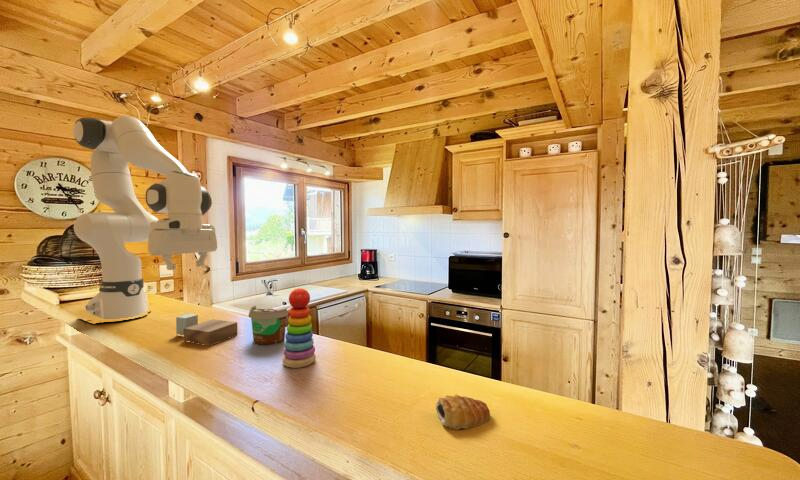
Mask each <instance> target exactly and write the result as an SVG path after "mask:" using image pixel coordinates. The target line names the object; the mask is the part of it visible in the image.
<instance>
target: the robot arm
mask: <svg viewBox="0 0 800 480" xmlns="http://www.w3.org/2000/svg"><path fill="white" fill-rule="evenodd" d="M72 133H73V136H74V141H76V143H77V144H78V145H79V146H80V147H83V148H86V149H89V150H93V151H92V152H91V155H90V175H91V180H92V181H91V182H92V188H93V191H94V195H95V198H96V200H98V201H99V202H100V203H101V204H104V205H105V206H107V207H109V208H111V209H112V211H114V212H110V211H109V212H103V211H97V212H88V213H83V214H80V215H79V216H78V217H77V218H76V219H75V221H74V223H73V232H74V234H75V235H76V237H77V238H78V239H79V240H80V241H82V242H84V243H85V244H87V245H89V246H90V247H91V248H92V249H93V250H94V251H95V252H96V254H97V256H98V257H99V261H100V266H101V276H102V279H101V280H102V281H101V282H98V286H99V289H98V291H99V292H98V293H97V294H95V296H93V297H92V298H91V299H89V301H87V304H85V307H84V308H85V310H86V314H87V313H90V314H92V315H95V316H97V317H100V318H102V319H120V318H128V317H133V316H137V315H140V314H143V313H145V312H146V311H147V310H148V309H149V304H148V297H147V296H148V295H147V292H146V291H145V290H144V289H143V288H145V285H144V284H145V281H144V278H143V273H142V271H143V270H142V268H143V267H142V266H143V265H142V259H141V257H139V256H138V255H137V254H135V253H133V252H130V251H128V250H127V248H126V246H125V243H143V242H147V251H148V253H149V254H150V255H151V256H161V259H162V260H163V261H164V263H165V265H166V270H167V271H173V270H176V265H177V264H176V263H173V261H172V258H173V255H181V254H182V255H183V254H185V255H186V254H197V253H198V256H199V258H198V260H195V266H196V267H204V265H205V260H206V258H207V256H208V253H209V252H210V253H211V252H212V253H213V252H216V251H217V249H218V239H217V234H216V228H215V227H214V225H212V224H210V223H208V224H205V223H203V215H205V214H206V213H207V212H208V211H209V210H210V209H211V207H212V203H213V200H212V197H211V194H210V193H209V192H208V190H207V189H206V188H205V187H203V186H202V185H201V180H200V177H199V176H198V175H197V174H195V173H192V172H189V171H188V170H187V169H186V167H185V166H184V165H183V164H182V162H180V161H179V160H178V159H177V158H176V157H174V156H173V155H172V154H170V153H169V152H168V151H167V150H166V149H165V148H164V147H163V146H161V145H160V143H159V142H158V141H157V139H156V138H155V137H154V135H153V133H151V131H150V129H149V128H148V127H147V126H146V125H145V124H144V123H143V122H142V121H141V120H139V119H137V118H136V117H134V116H130V115H122V116H118V117H116V118H115V119H113V121H111V120H104V119H97V118H95V117H80V118H79V119H76V121H75V122H74V125H73V132H72ZM129 164H131V166H134V167H136V168H140V169H142V170H146V171H150V172H153V173H155V174H159V175H162V176H164V177H166V179H164V180H162V181H160V182H158V183H157V182H155V183H153V184H152V185H150V186H148V188H147V189H146V191H145V203H146V205H147V206H148V207H149V208H150V209H151V210H152V211H153V212H155V213H158V214H167V217H165V218H162V219H158V217H156V216H154V215H153V214H151V213H150V212H148V211H147V210H146V209H145V208H144V206H143V205H142V204H141V203H140V201H139V200H138V198H137V196H136V193H135V189H134V185H133V180H132V175H131V172H130V168H129Z"/></svg>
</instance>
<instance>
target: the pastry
mask: <svg viewBox="0 0 800 480" xmlns="http://www.w3.org/2000/svg"><path fill="white" fill-rule="evenodd" d="M435 410H436V412H437V413H436V415H437V418H438V419H439V420H440V422H441V424H442V426H444V427H446V428H448V429H451V430H460V429H464V430H466V429H471V428H474V427H477V426H481V425H482V424H485V423H486V422H487V421H488V420H490V418H491V417H490V416H491V413H490V412H491V411H490V409H489V407H488V404H487V403H486V402H484V401H482V400H480V399H474V398H473V397H467V396H461V395H458V394H454V395H453V396H452V395H445V396H444V397H439V398H438V401H436V404H435Z"/></svg>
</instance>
